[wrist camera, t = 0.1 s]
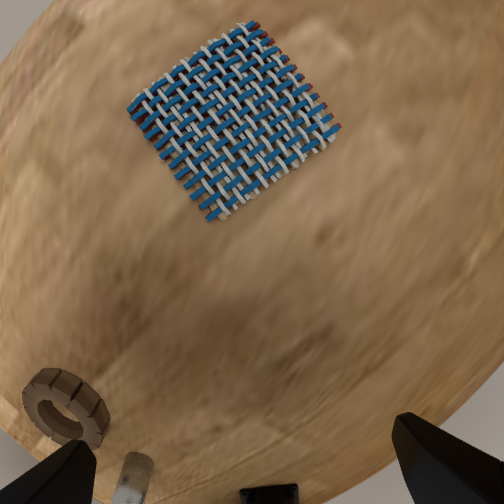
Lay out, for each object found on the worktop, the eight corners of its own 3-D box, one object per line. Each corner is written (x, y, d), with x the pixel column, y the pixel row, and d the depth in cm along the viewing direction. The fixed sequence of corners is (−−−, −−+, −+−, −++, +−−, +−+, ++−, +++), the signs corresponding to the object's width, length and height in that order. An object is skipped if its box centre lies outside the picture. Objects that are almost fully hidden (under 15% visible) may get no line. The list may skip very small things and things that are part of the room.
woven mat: (343, 136, 20) (353, 132, 18) (216, 226, 21) (214, 231, 19) (253, 21, 17) (254, 8, 15) (127, 107, 19) (116, 102, 17)
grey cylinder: (157, 469, 26) (144, 527, 18) (132, 467, 26) (115, 522, 18) (148, 452, 25) (132, 513, 18) (122, 451, 25) (102, 508, 18)
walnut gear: (121, 438, 25) (114, 456, 22) (55, 429, 25) (46, 444, 22) (90, 370, 23) (78, 387, 20) (22, 365, 23) (9, 379, 20)
